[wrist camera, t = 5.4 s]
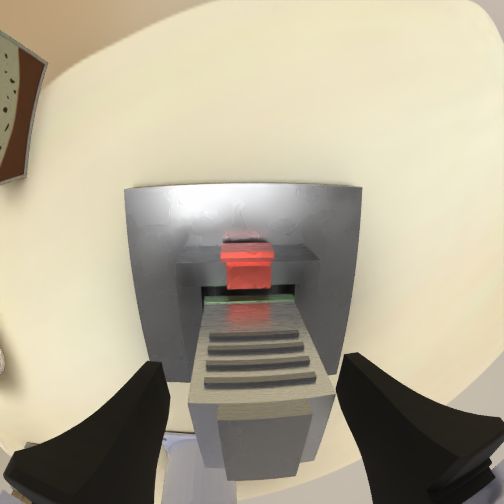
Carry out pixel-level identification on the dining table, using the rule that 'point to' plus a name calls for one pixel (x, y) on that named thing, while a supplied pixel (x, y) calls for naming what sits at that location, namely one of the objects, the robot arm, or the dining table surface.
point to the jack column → (257, 388)
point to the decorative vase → (1, 361)
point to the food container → (17, 105)
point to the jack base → (241, 258)
